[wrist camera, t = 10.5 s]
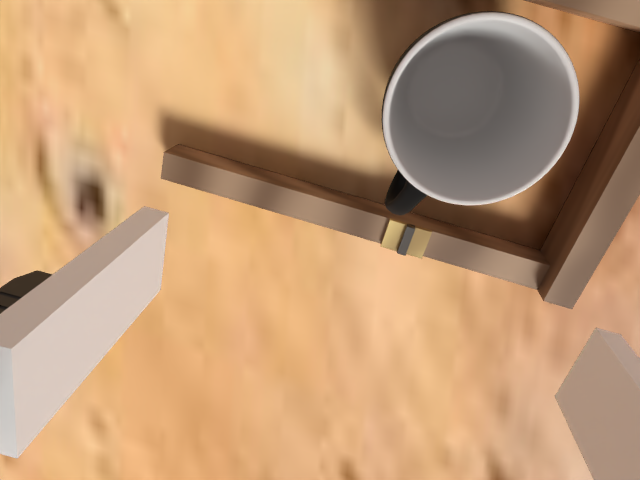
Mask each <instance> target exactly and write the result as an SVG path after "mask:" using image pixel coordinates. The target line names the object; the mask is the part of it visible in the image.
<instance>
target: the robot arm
mask: <svg viewBox="0 0 640 480" xmlns="http://www.w3.org/2000/svg"><path fill="white" fill-rule="evenodd" d="M168 216H169V213H168V212H164V211H160V210H156V209H153V208H149V207H145V206H144V207H142V208H141V209H140V210H138V211H137V212H136V213H134V214H133V215H132V216H130V217H129V218H128V219H126V220H125V221H124V222H122V223H121V224H120V225H118V226H117V227H116V228H114V229H113V230H112V231H110V232H109V233H108V234H106V235H105V236H104V237H102V238H101V239H100V240H98V241H97V242H96V243H94V244H93V245H92V246H90V247H89V248H88V249H86V250H85V251H84V252H82V253H81V254H80V255H78V256H77V257H76V258H74V259H73V260H72V261H70V262H69V263H68V264H66V265H65V266H64V267H62V268H61V269H59V270H58V271H57V272H55V273H54V274H53V275H52V274H48V273H45V272H41V271H34V272H32V273H29V274H26V275H23V276H20V277H17V278H14V279H13V280H11V281H10V282H8V283H7V284H5V285H4V286H2V287H1V288H0V454H3V455H6V456H10V457H14V458H18V457H19V456H20V455H21V454H22V453H23V451H24V450H25V449H26V448H27V447H28V445H29V444H30V443H31V442H32V441H33V440H34V438H35V437H36V436H37V435H38V434H39V433H40V431H41V430H42V429H43V428H44V427H45V425H46V424H47V423H48V422H49V421H50V420H51V418H52V417H53V416H54V415H55V414H56V412H57V411H58V410H59V409H60V408H61V407H62V405H63V404H64V403H65V402H66V401H67V400H68V398H69V397H70V396H71V395H72V394H73V392H74V391H75V390H76V389H77V388H78V387H79V385H80V384H81V383H82V382H83V381H84V379H85V378H86V377H87V376H88V375H89V374H90V372H91V371H92V370H93V369H94V368H95V366H96V365H97V364H98V363H99V362H100V361H101V359H102V358H103V357H104V356H105V355H106V354H107V352H108V351H109V350H110V349H111V348H112V346H113V345H114V344H115V343H116V342H117V341H118V339H119V338H120V337H121V336H122V335H123V333H124V332H125V331H126V330H127V329H128V328H129V326H130V325H131V324H132V323H133V322H134V320H135V319H136V318H137V317H138V316H139V315H140V313H141V312H142V311H143V310H144V309H145V308H146V306H147V305H148V304H149V303H150V302H151V300H152V299H153V298H154V297H155V296H156V295H157V293H158V292H159V291H160V290H161V282H162V272H163V263H164V254H165V244H166V235H167V226H168ZM555 398H556V400H557V402H558V405H559V407H560V409H561V411H562V413H563V415H564V417H565V419H566V422H567V424H568V426H569V428H570V430H571V432H572V434H573V436H574V439H575V441H576V443H577V445H578V447H579V449H580V451H581V454H582V456H583V458H584V460H585V462H586V464H587V466H588V468H589V471H590V473H591V475H592V477H593V479H594V480H640V358H639V357H638V356H637V354H636V353H635V352H634V351H633V349H632V348H631V347H630V346H629V344H628V343H627V342H626V340H625V339H624V338H623V337H622V335H621V334H618V333H614V332H610V331H606V330H603V329H599V328H595V329H594V331H593V333H592V334H591V336H590V338H589V340H588V341H587V343H586V345H585V346H584V348H583V350H582V351H581V353H580V355H579V356H578V358H577V360H576V361H575V363H574V365H573V366H572V368H571V370H570V371H569V373H568V375H567V376H566V378H565V380H564V381H563V383H562V385H561V387H560V388H559V390H558V392H557V393H556V395H555Z"/></svg>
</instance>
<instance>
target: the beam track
mask: <svg viewBox="0 0 640 480" xmlns="http://www.w3.org/2000/svg"><path fill="white" fill-rule="evenodd" d="M525 1H529V2H532V3H536V4H539V5H543V6H546V7H550V8H553V9H557V10H560V11H564V12H568V13H571V14H575V15H578V16H582V17H585V18H589V19H592V20H596V21H600V22H603V23H607V24H610V25H614V26H617V27H621V28H624V29H628V30H632V31H635V32H639V33H640V0H525ZM161 179H164V180H168V181H171V182H174V183H178V184H181V185H185V186H188V187H191V188H195V189H198V190H202V191H205V192H208V193H212V194H215V195H218V196H222V197H225V198H229V199H232V200H235V201H239V202H242V203H245V204H249V205H252V206H256V207H259V208H262V209H266V210H269V211H273V212H276V213H279V214H283V215H286V216H289V217H293V218H296V219H300V220H303V221H306V222H310V223H313V224H317V225H320V226H323V227H327V228H330V229H333V230H337V231H340V232H344V233H347V234H350V235H354V236H357V237H361V238H364V239H367V240H371V241H374V242H377V243H381V247H384V248H387V249H391V250H394V251H397V253H398V254H402V255H406V254H408V255H411V256H414V257H418V258H421V259H422V257H423V256H425V257H428V258H432V259H435V260H438V261H442V262H445V263H448V264H452V265H455V266H459V267H462V268H465V269H469V270H472V271H476V272H479V273H482V274H486V275H489V276H492V277H496V278H499V279H503V280H506V281H509V282H513V283H516V284H519V285H523V286H526V287H530V288H533V289H536V290H538V292H539V294H540V295H541V297H542V299H543V301H546V302H549V303H553V304H556V305H559V306H563V307H566V308H569V309H573V307H574V305H575V303H576V302H577V300H578V298H579V297H580V295H581V293H582V292H583V290H584V288H585V286H586V285H587V283H588V281H589V280H590V278H591V276H592V275H593V273H594V271H595V269H596V268H597V266H598V264H599V263H600V261H601V259H602V258H603V256H604V254H605V252H606V251H607V249H608V247H609V246H610V244H611V242H612V241H613V239H614V237H615V235H616V234H617V232H618V230H619V229H620V227H621V225H622V224H623V222H624V220H625V218H626V217H627V215H628V213H629V212H630V210H631V208H632V207H633V205H634V203H635V201H636V200H637V198H638V196H639V195H640V59H639V61H638V63H637V65H636V67H635V68H634V70H633V72H632V74H631V76H630V78H629V80H628V82H627V84H626V86H625V88H624V90H623V92H622V94H621V96H620V97H619V99H618V101H617V103H616V105H615V107H614V109H613V111H612V113H611V115H610V117H609V119H608V121H607V123H606V124H605V126H604V128H603V130H602V132H601V134H600V136H599V138H598V140H597V142H596V144H595V146H594V148H593V150H592V151H591V153H590V155H589V157H588V159H587V161H586V163H585V165H584V167H583V169H582V171H581V173H580V175H579V177H578V178H577V180H576V182H575V184H574V186H573V188H572V190H571V192H570V194H569V196H568V198H567V200H566V202H565V204H564V205H563V207H562V209H561V211H560V213H559V215H558V217H557V219H556V221H555V223H554V225H553V227H552V229H551V231H550V232H549V234H548V236H547V238H546V240H545V242H544V244H543V246H542V248H541V250H537V249H533V248H530V247H527V246H523V245H520V244H516V243H513V242H509V241H506V240H503V239H499V238H496V237H492V236H489V235H486V234H482V233H479V232H475V231H472V230H469V229H465V228H462V227H458V226H455V225H452V224H448V223H445V222H441V221H438V220H435V219H431V218H428V217H424V216H421V215H418V214H414V213H411V212H408V213H407V214H405V215H395V214H393V213H391V212H390V211H389V210H388V209H387V208H386V205H383V204H380V203H377V202H373V201H370V200H366V199H363V198H360V197H356V196H353V195H349V194H346V193H343V192H339V191H336V190H332V189H329V188H326V187H322V186H319V185H315V184H312V183H309V182H305V181H302V180H298V179H295V178H292V177H288V176H285V175H281V174H278V173H275V172H271V171H268V170H264V169H261V168H257V167H254V166H251V165H247V164H244V163H240V162H237V161H234V160H230V159H227V158H223V157H220V156H217V155H213V154H210V153H206V152H203V151H200V150H196V149H193V148H189V147H186V146H183V145H179V144H178V145H176V146H174V147H173V148H171V149H169V150H167V151H165V152H164V156H163V165H162V174H161Z"/></svg>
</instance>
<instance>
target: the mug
mask: <svg viewBox="0 0 640 480" xmlns="http://www.w3.org/2000/svg"><path fill="white" fill-rule="evenodd" d="M578 111H579V86H578V80H577V76H576V72H575V69H574V66H573V64H572V62H571V60H570V58H569V56H568V54H567V52H566V51H565V49H564V48H563V46H562V45H561V44H560V43H559V41H558V40H557V39H556V38H555V37H554V36H553V35H552V34H551V33H550V32H548V31H547V30H546V29H544V28H543V27H542V26H540V25H538V24H537V23H535V22H533V21H531V20H529V19H527V18H524V17H522V16H518V15H515V14H510V13H505V12H495V11H484V12H474V13H468V14H464V15H460V16H457V17H454V18H451V19H448V20H446V21H444V22H442V23H440V24H438V25H436V26H434V27H433V28H431V29H429V30H428V31H427V32H425V33H424V34H422V35H421V36H420V37H419V38H418V39H416V40H415V41H414V42H413V43H412V44H411V45H410V46H409V47H408V49H407V50H406V51H405V52H404V54H403V55H402V56H401V58H400V59H399V61H398V62H397V64H396V66H395V67H394V69H393V71H392V73H391V76H390V78H389V80H388V83H387V86H386V90H385V94H384V98H383V105H382V129H383V135H384V140H385V144H386V147H387V150H388V152H389V155H390V157H391V159H392V161H393V163H394V164H395V166H396V167H397V169H398V171H397V173H396V175H395V177H394V179H393V181H392V183H391V185H390V187H389V190H388V192H387V195H386V199H385V205H386V208H387V209H388V210H389V211H390V212H391V213H393V214H395V215H405V214H407V213H408V212H410V211H411V210H412V209H413V208H414V207H415V206H416V205H417V204H418V203H419V202H420V201H421V200H422V199H424V198H425V197H426V196H430V197H433V198H435V199H437V200H440V201H443V202H447V203H452V204H458V205H483V204H489V203H494V202H498V201H501V200H504V199H507V198H510V197H512V196H514V195H516V194H518V193H520V192H522V191H524V190H526V189H527V188H529V187H530V186H532V185H533V184H535V183H536V182H537V181H538V180H540V179H541V178H542V177H543V176H544V175H545V174H546V173H547V172H548V171H549V170H550V169H551V168H552V167H553V166H554V165H555V163H556V162H557V161H558V159H559V158H560V157H561V155H562V154H563V152H564V150H565V149H566V147H567V145H568V143H569V141H570V139H571V136H572V134H573V131H574V128H575V125H576V121H577V117H578Z"/></svg>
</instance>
